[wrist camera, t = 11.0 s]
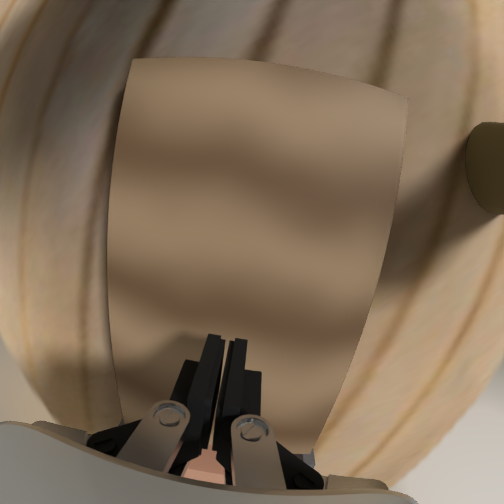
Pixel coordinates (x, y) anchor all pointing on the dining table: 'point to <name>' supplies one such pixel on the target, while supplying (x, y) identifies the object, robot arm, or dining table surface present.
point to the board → (248, 228)
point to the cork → (487, 165)
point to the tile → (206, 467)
